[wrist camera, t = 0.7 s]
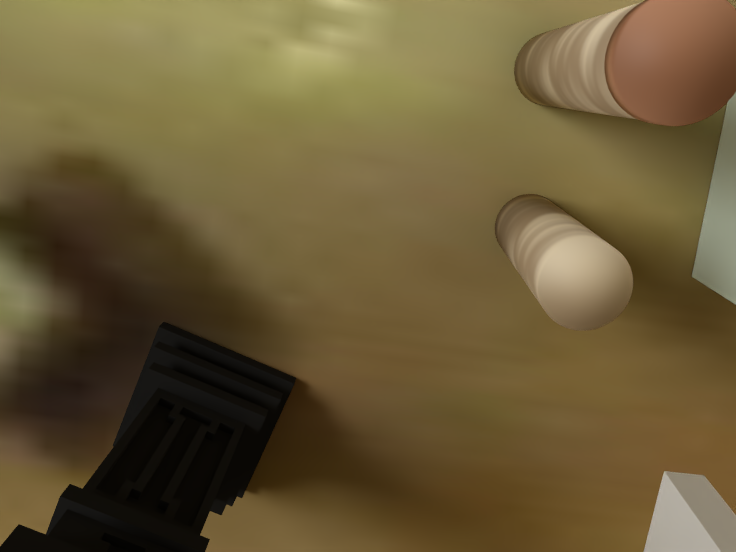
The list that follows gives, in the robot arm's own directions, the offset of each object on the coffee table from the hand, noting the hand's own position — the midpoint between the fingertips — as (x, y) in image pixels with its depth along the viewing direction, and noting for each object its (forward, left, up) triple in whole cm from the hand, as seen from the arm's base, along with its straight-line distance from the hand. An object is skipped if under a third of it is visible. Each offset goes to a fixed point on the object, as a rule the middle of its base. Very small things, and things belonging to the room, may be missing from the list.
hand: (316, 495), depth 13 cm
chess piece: (+11, -8, -25) cm, 28 cm away
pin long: (-9, +9, -24) cm, 27 cm away
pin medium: (-1, +9, -24) cm, 26 cm away
